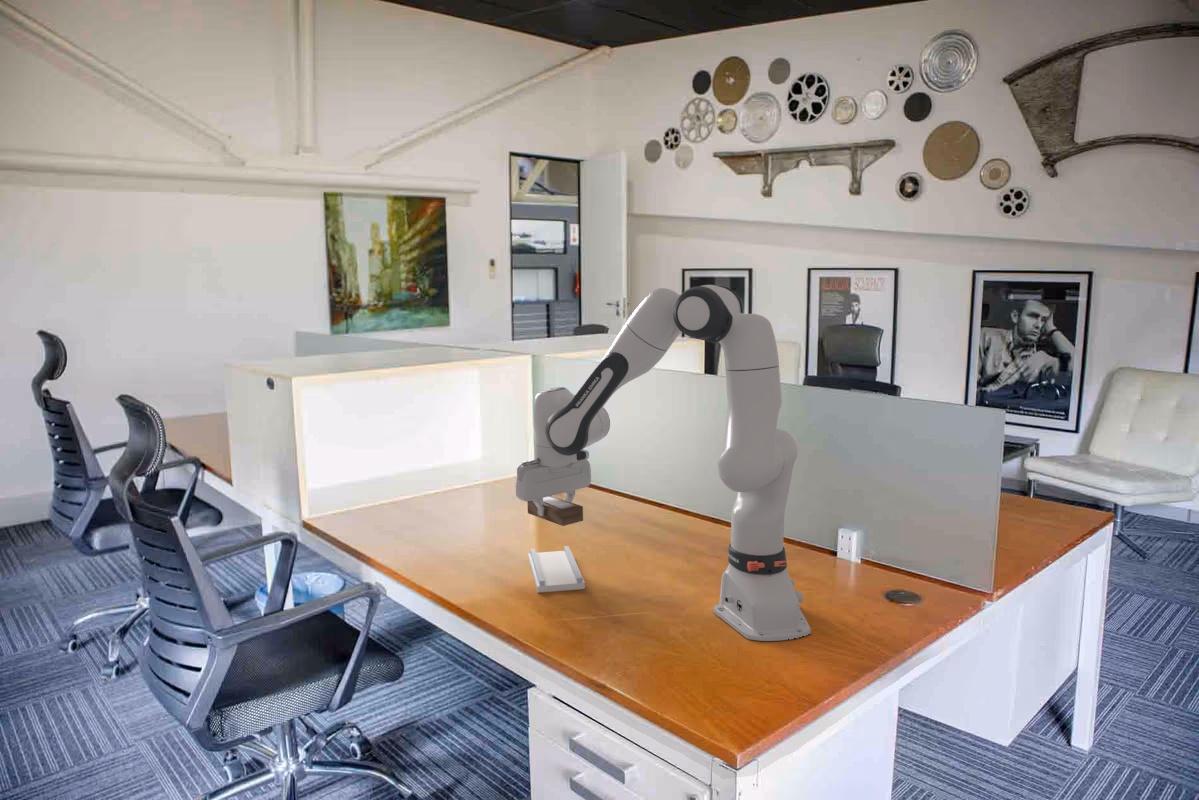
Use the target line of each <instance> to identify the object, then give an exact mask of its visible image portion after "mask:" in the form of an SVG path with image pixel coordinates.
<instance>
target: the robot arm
mask: <svg viewBox="0 0 1199 800" xmlns="http://www.w3.org/2000/svg"><path fill="white" fill-rule="evenodd" d="M682 333H683V334H684V335H685V336H688V337H690V338H693V339H695V340H699V341H706V342H709V343H712V344H716V343H719V344H720V346H721V348H722V351H723V357H724V371H725V382H726V384H725V385H726V397H727V411H726V412H727V416H726V424H725V431H724V432H725V433H724V439H723V448H722V450H721V451H722V452H721V453H720V456H719V458H718V462H717V472H718V475H719V479H720V480H721V482H722V483H723V484H724V486H726V487H727V489H729V490H731V491H733V492H737V493H736V494H737V495H736V498H735V500H734V503H733V505H732V508H731V515H730V516H731V517H730V518H731V519H730V526H731V527H730V543H729V544H728V550H727V555H728V556H727V557H728V558H727V560H728V566H727V568H726V569H725V570H724V572H722V575H721V581H720V582H721V583H720V592H719V594H720V595H719V603H718V604H716V605H714V606H713V610H712V612H713V613H714V614H715V615H716V616H717V617H719V618H720V619H722V620H723V621H724V622H725V623H727V624H728V625H729V626H730V627H731V628H733V629H734V630H735V631H737V632H738V633H739V634H740V635H742V636H743V637H744V638H745V639H747V640H751V641H759V642H760V641H761V642H778V641H789V640H794V638H796V639H800V638H799V637H801V638H803V637H802V636H804V637H806V635H807V636H808V634H809V635H810V634H812V629H811V627H810V623H808V621H807V619H806V617H805V615H804V613H803V611H802V610H801V608H800V603H803V600H804V596H803V592H802V591H801V590H800V591H799V590H798V591H797V590H795V588H794V586H795V579H792V578H791V576H790V574H789V571H788V562H787V554H786V549H785V546H784V529H785V513H786V512H785V511H786V507H787V501H788V496H789V490H790V486H791V480H792V474H793V468H794V464H795V462H796V459H797V456H798V446H797V443H796V442H797V441H796V440H795V438H794V437H793V436H792V435H791V434H790V433H789V432H788V431H786V430H784V429H781V428H777V426H778V419H779V413H780V410H781V406H782V387H781V385H782V384H781V374H780V361H779V354H778V353H779V351H778V348H777V342H776V336H775V333H774V329H773V325H772V323H771V321H770V320H769V319H768V318H767V317H765V316H763V315H760V314H756V313H744V305H743V301H742V299H741V298H740V296H739V295H738V294H737V292H736V291H734V290H733V289H732V288H729V287H726V286H723V285H722V286H721V285H715V284H704V285H699V286H698V285H697V286H692V287H690V288H687V289H686V290H685V291H683V292H682V293H681V294H679V293H677V292H676V291H674V290H672V289H670V288H665V287H660V288H656V289H654V290H652V291H651V292H650V293H649V294H647V296H645V298H644V299H643V300H642V301H641V302H640V303H639V304H638V306H636V308H635V309H634V311H632V313H631V314H630V316H629V317H628V318H627V320H626V321H625V323H624V324H623V326H622V327H621V329H620V331H619V332H618V333H617V335H616V337H615V338H614V340H613V342H612V343H611V345H610V347H609V348H608V350H607V351H606V352H605V354H604V356H603V357H602V359H601V360H600V362H599V364H598V365H597V366H596V368H594V369H593V371H592V373H591V374H590V375H589V376H588V378H587V379H586V380H585V382H584V383H583V384H582V386H581V387H579V388H580V389H579V390H578V391H577V392H576V393H575V394H573V393H572V392H571V391H570V390H569V389H568V388H567V387H562V386H558V387H552V388H549V389H548V388H547V389H544V390H541V391H539V392H538V393H537V394H536V395H535V398H534V404H533V428H534V432H535V438H534V447H533V448H534V458H533V459H530V460H524V461H522V462H521V463H520V464H519V465H518V467H517V468H516V482H515V496H516V497H517V498H518V500H520V501H523V502H525V503H526V502H527V501H531V500H533V502H534V504H535V505H536V507H537V508H538V515H540V516H543V515H547V512H546V511H547V508H546V507H543V505H542V503H541V502H543V498H544V497H548V496H556V495H560V494H566V496H565V499H564V500H565V501H568V502H571V503H573V500H574V498H575V495H576V490H580V489H585V488H588V487H590V484H591V482H592V471H591V470H592V469H591V464H590V461H589V460H588V459H589V458H590V451H589V450H586V448H587V447H590V446H592V445H593V444H595V443H598V442H599V441H601V440H602V439H604V438H605V437H606V436H607V435H608V433H609V432H610V428H611V419H610V415H609V413H608V411H607V410H606V409H605V408H604V406H605V405H606V404H607V402H608V401H609V400H610V398H611V397H612V396H613V395H614V394H615V393H616V392H617V391H618V390H619V389H621V388H622V387H623V386H625V385H626V384H628V383H629V382H632V381H633V380H635V379H636V378H639V377H641V376H643V375H644V374H646V373H648V372H650V371H651V369H653V368H654V367H655V366H656V365H657V364H658V363H659V362H660V361H661V360H662V359H663V357H664V356H665V354H666V353H667V351H668V350H669V349H670V348H671V346H672V344H673V343H674V341H675V340H676V339H677V338H678V337H679V336H680V335H681V334H682ZM788 639H789V640H788Z"/></svg>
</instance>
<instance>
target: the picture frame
mask: <svg viewBox="0 0 1199 800" xmlns="http://www.w3.org/2000/svg"><path fill="white" fill-rule="evenodd" d="M541 503H542V505H543V507H546V508H547V511H546V512H547V515H543V516H540V515H538V508H537V507H536V505H535V504H534V502H533V500H531V501H527V514H528V515H531V516H534V517H537V518H540V519H543V520H545V521H548V522H551V523H553V524H556V525H558V526H562V527H565V526H569V525H573V524H576V523H580V522H583V521H584V507H583V506H582V505H580V504H576V503H574V502H568V501H565V499H562V498H558V497H556V496H554V495H552V496H548V497H544V498H543V502H541Z"/></svg>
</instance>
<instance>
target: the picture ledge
mask: <svg viewBox="0 0 1199 800" xmlns="http://www.w3.org/2000/svg"><path fill="white" fill-rule="evenodd" d="M527 559H528V563H529V567H530V570H531V574H532V579H533V582H534V584H535V589H536V593H537V594H538V593H539V594H540V593H550V592H562V591H563V592H564V591H574V590H575V591H577V590H585V589H586V582H585V580H584V577H583V575H582V573H581V570H580V568H579V567H578V563H577V562H576V559H575V556H574V553H572V550H571V548H570V546H569V545H564V546H563V550H559V551H557V550H556V551H554V550H553V551H544V552H537V551H536V548H535V547H533V548H530V549H529V552H528V553H527Z"/></svg>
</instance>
